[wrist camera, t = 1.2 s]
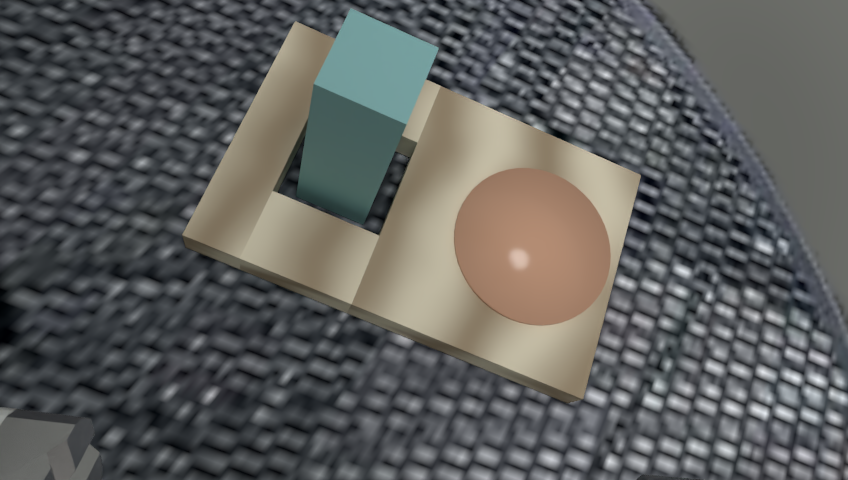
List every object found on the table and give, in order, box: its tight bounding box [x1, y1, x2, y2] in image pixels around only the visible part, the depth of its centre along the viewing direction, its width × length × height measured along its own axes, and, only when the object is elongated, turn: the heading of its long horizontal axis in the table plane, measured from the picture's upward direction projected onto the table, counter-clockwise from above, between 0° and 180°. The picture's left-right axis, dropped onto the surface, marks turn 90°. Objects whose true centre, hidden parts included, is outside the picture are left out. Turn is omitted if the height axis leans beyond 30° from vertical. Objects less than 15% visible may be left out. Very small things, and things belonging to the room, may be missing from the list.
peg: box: [296, 9, 439, 225], centre depth 35 cm, size 4×4×12 cm
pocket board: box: [182, 22, 641, 403], centre depth 40 cm, size 22×14×2 cm, turn 69°
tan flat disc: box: [454, 168, 611, 326], centre depth 39 cm, size 9×9×1 cm
